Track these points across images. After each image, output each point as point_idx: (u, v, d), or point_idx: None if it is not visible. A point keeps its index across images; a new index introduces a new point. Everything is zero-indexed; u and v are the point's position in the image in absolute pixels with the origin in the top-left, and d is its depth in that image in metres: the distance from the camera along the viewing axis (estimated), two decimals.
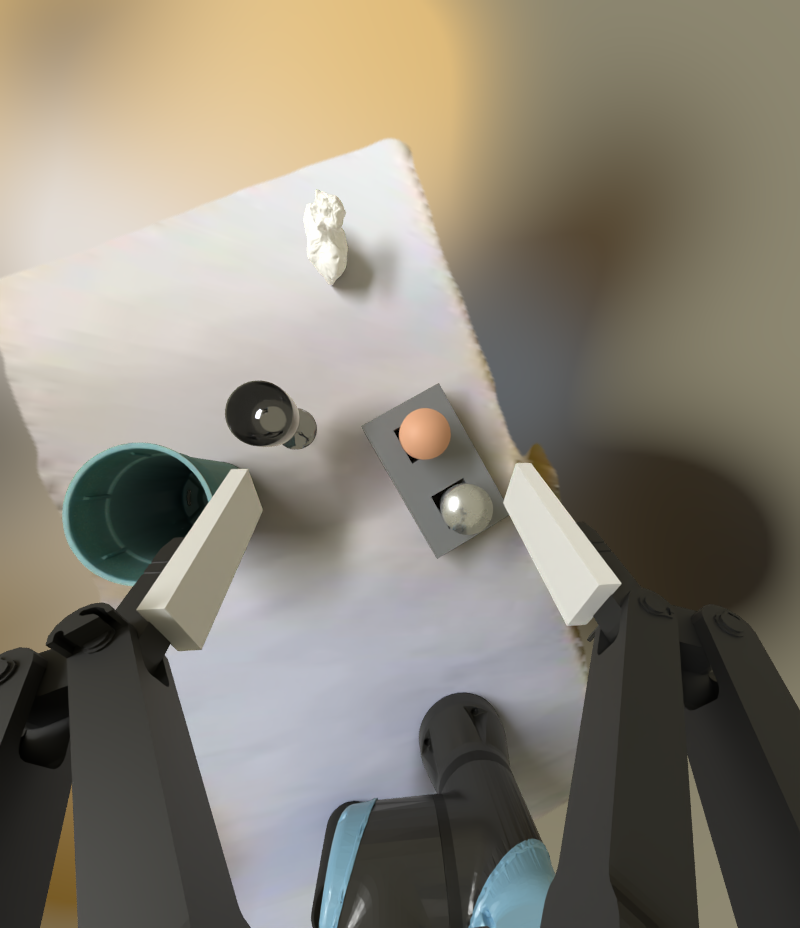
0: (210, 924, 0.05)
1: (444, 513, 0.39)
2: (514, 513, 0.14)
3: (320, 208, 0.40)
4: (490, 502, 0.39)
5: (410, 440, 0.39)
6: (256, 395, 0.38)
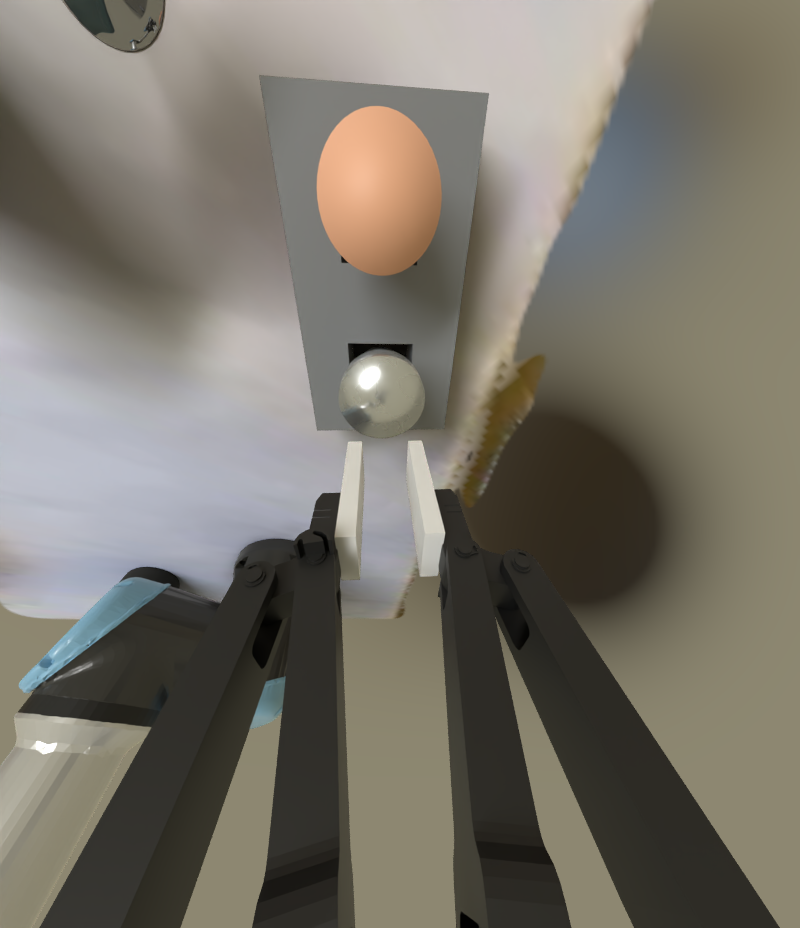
0: (344, 850, 0.05)
1: (342, 386, 0.22)
2: (408, 486, 0.16)
3: None
4: (420, 408, 0.24)
5: (339, 194, 0.16)
6: None
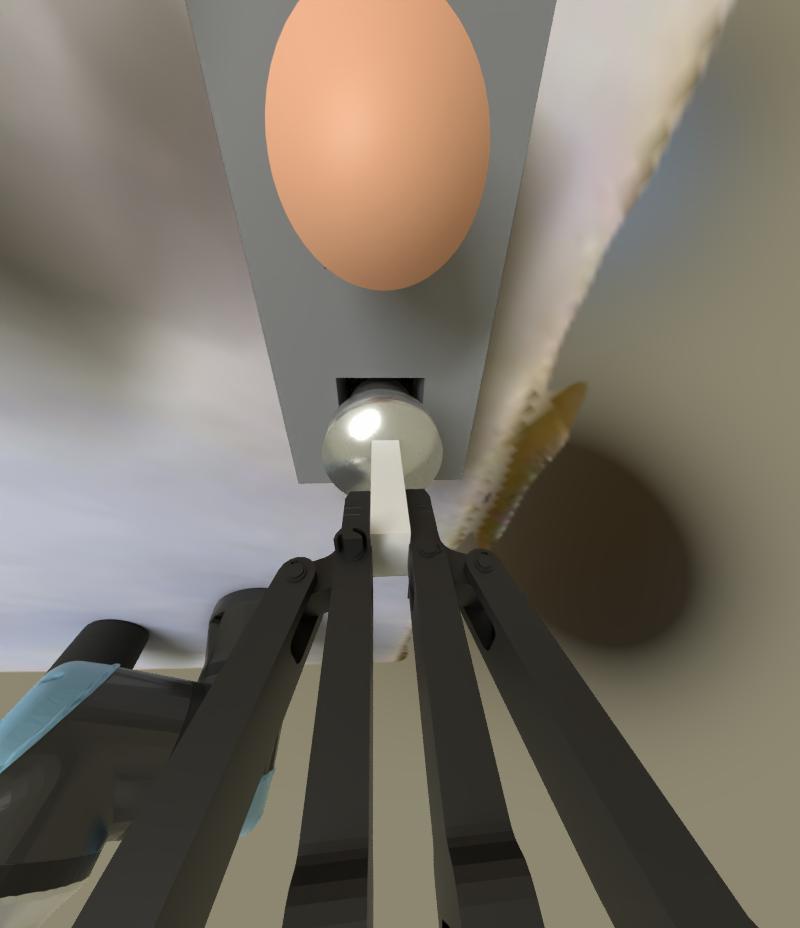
0: (370, 851, 0.05)
1: (326, 442, 0.16)
2: None
3: None
4: (436, 468, 0.17)
5: (308, 148, 0.09)
6: None
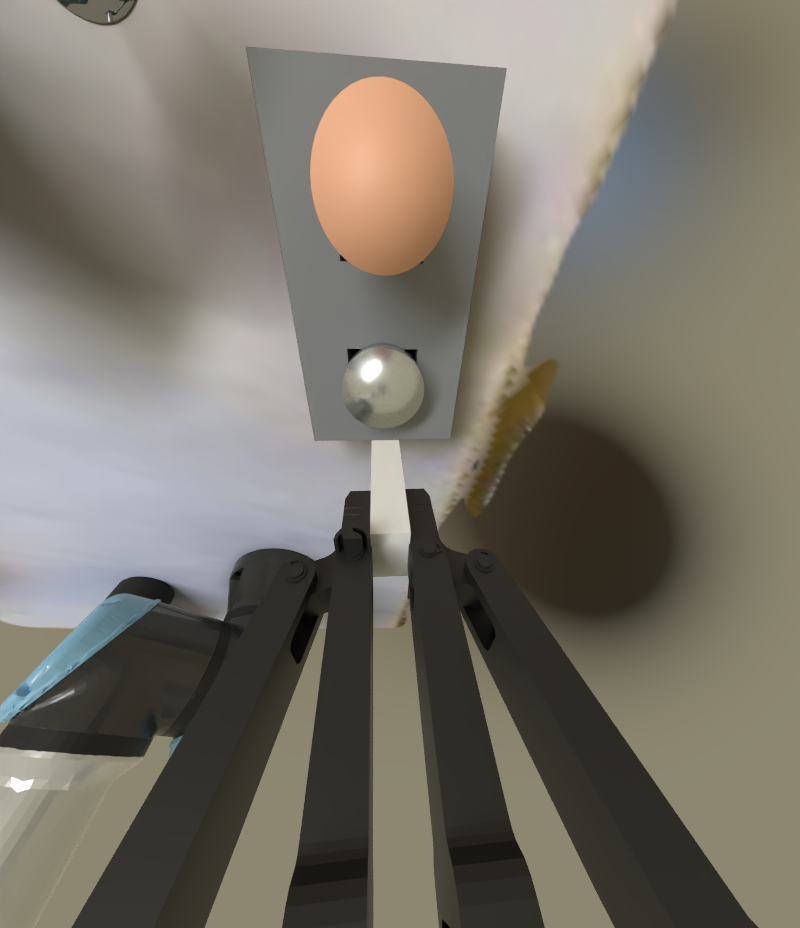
0: (370, 851, 0.05)
1: (345, 377, 0.23)
2: None
3: None
4: (420, 400, 0.25)
5: (336, 182, 0.14)
6: None
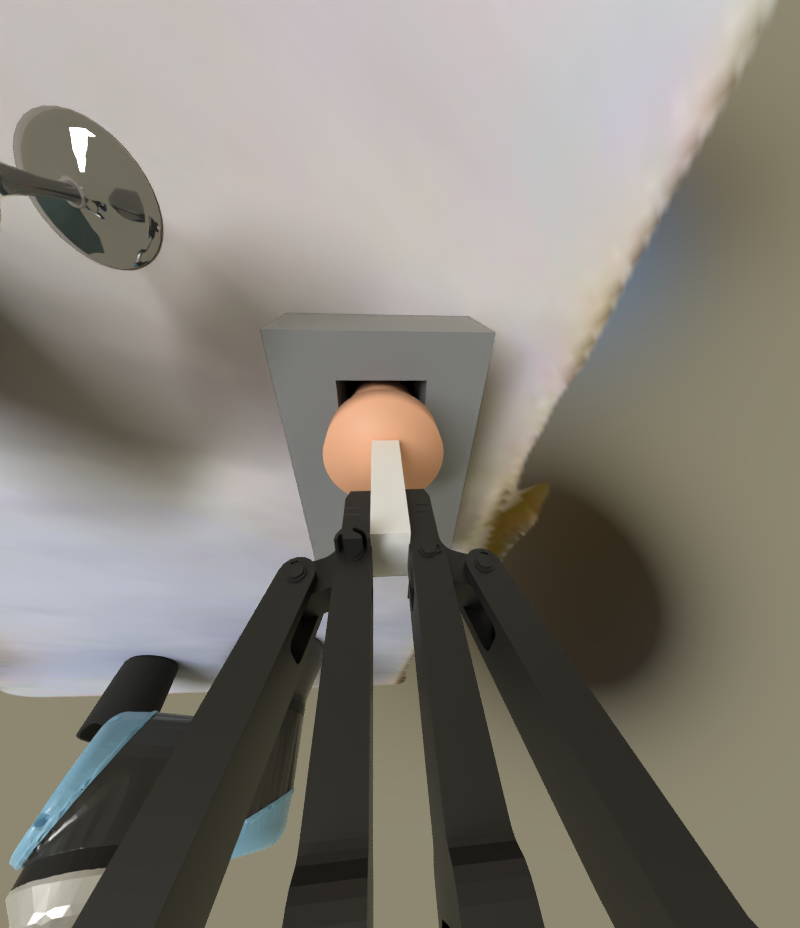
0: (370, 851, 0.05)
1: None
2: None
3: None
4: None
5: (344, 456, 0.16)
6: None
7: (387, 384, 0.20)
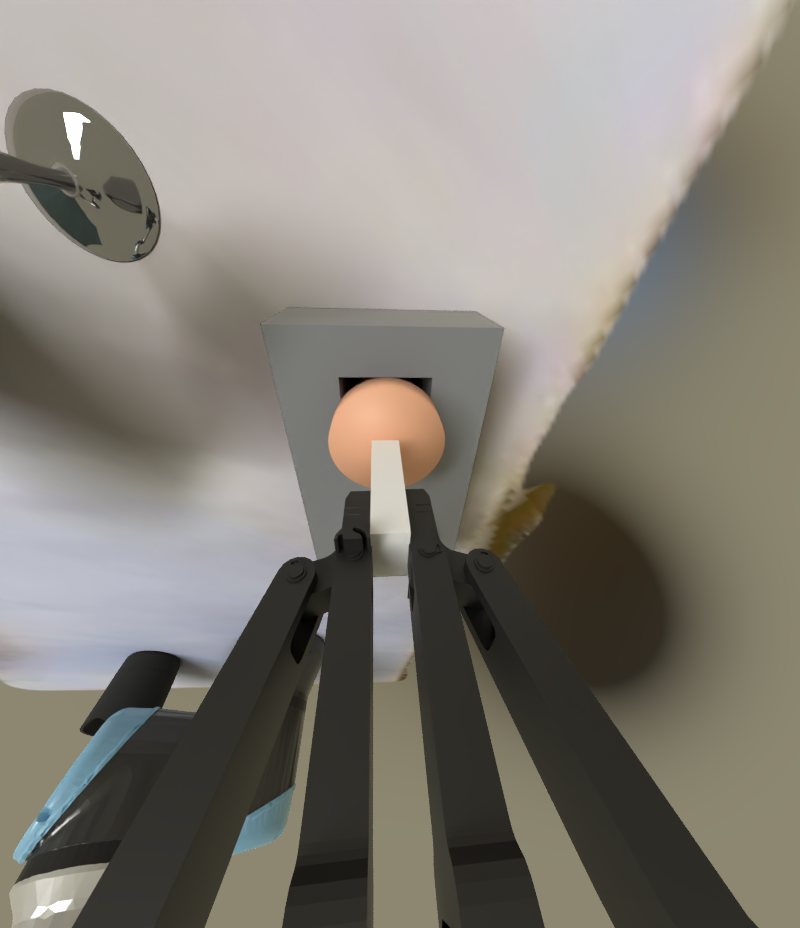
0: (370, 851, 0.05)
1: None
2: None
3: None
4: None
5: (349, 443, 0.17)
6: None
7: None
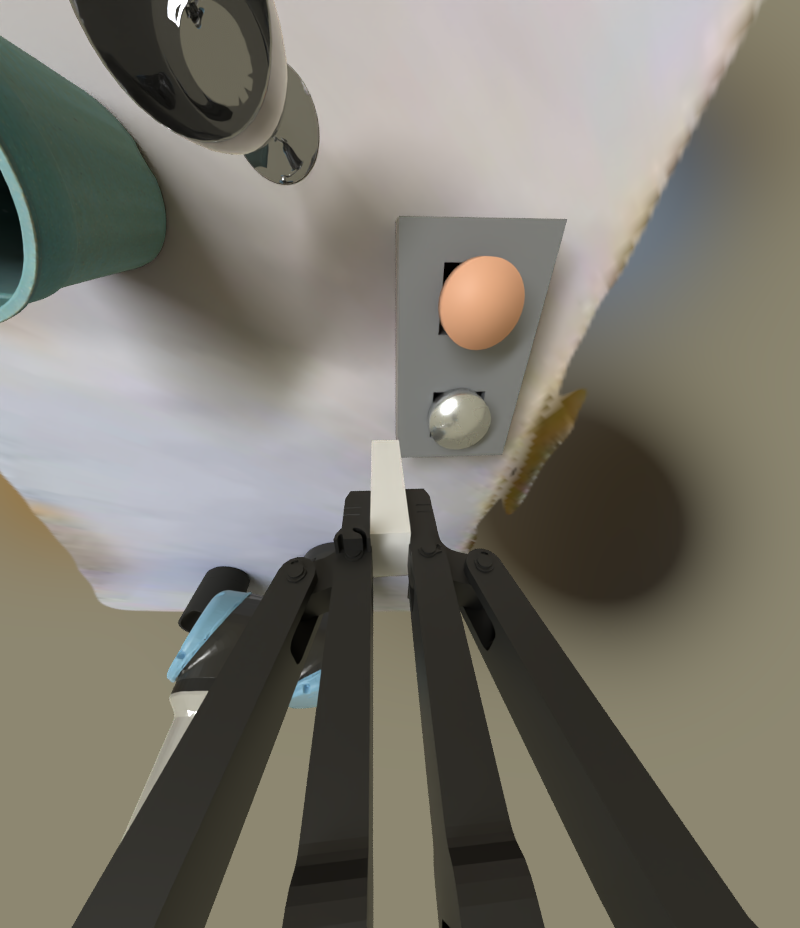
0: (370, 851, 0.05)
1: (433, 414, 0.32)
2: None
3: None
4: (486, 428, 0.33)
5: (457, 304, 0.24)
6: None
7: None
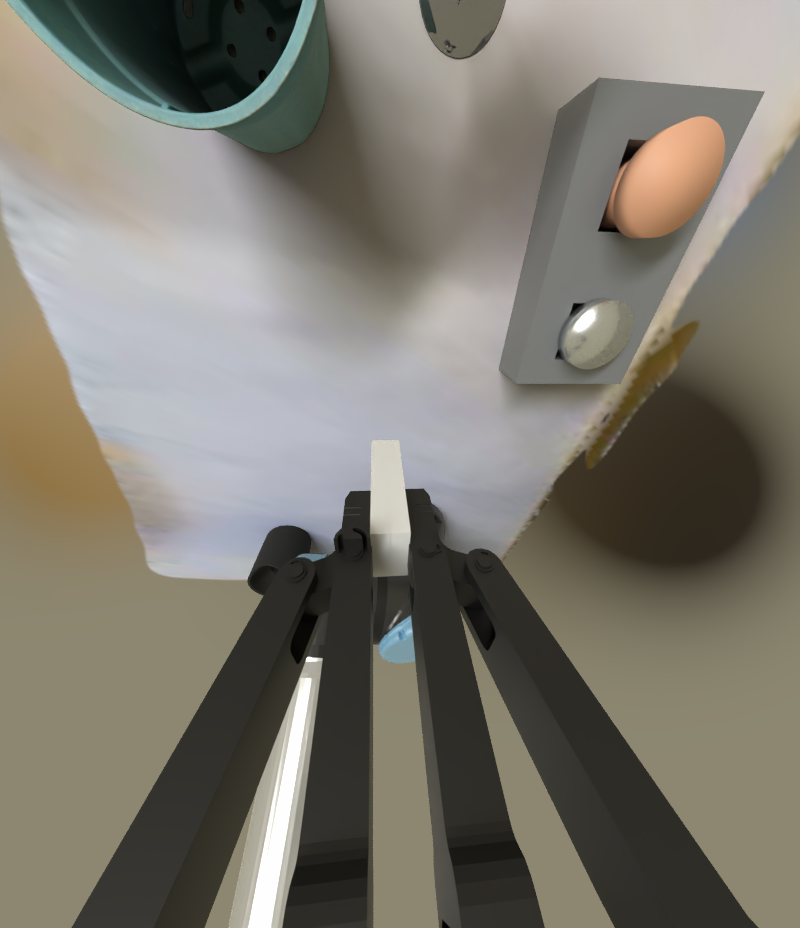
0: (370, 851, 0.05)
1: (576, 324, 0.30)
2: None
3: None
4: (623, 344, 0.32)
5: (650, 177, 0.23)
6: None
7: None
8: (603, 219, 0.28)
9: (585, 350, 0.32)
